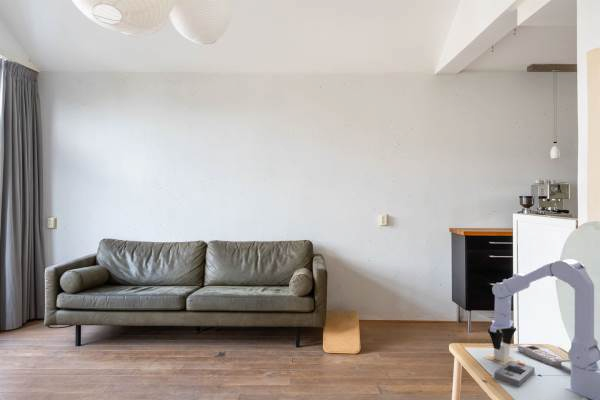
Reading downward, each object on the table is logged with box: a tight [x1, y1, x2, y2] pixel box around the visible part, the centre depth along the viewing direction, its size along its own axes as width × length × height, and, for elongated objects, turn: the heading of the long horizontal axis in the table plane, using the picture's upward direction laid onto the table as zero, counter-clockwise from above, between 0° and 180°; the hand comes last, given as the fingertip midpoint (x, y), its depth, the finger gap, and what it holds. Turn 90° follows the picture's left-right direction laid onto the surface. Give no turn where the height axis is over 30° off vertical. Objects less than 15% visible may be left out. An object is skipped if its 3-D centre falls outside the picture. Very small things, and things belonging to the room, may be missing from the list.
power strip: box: [494, 360, 535, 388], centre depth 137 cm, size 16×8×4 cm, turn 132°
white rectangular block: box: [493, 341, 511, 362], centre depth 151 cm, size 4×4×6 cm
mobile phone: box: [517, 343, 571, 367], centre depth 152 cm, size 6×6×25 cm
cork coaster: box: [483, 352, 520, 366], centre depth 151 cm, size 10×10×1 cm
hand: (501, 346), depth 151 cm, fingers open, 7 cm apart
